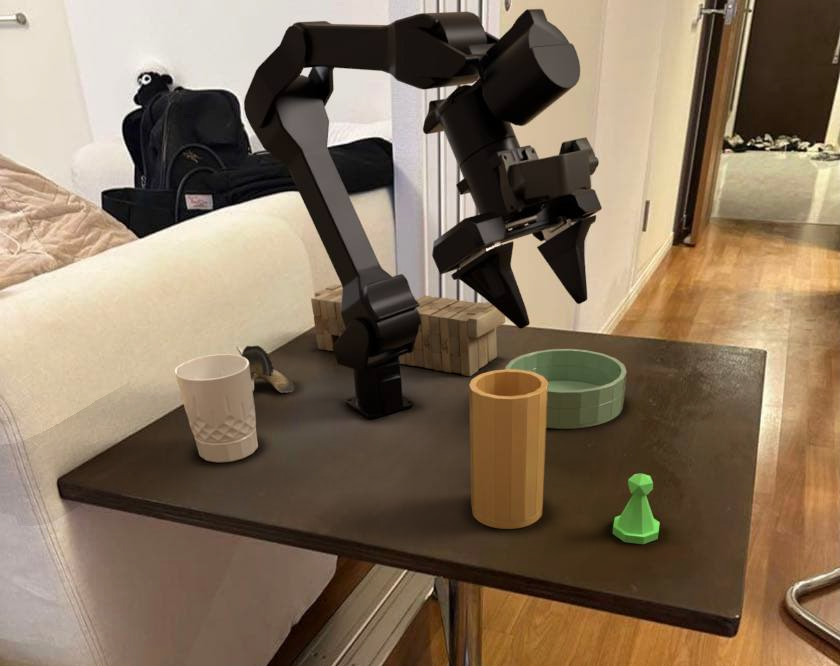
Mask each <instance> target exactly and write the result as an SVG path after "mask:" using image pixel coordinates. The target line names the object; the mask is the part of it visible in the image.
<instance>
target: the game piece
mask: <svg viewBox="0 0 840 666" xmlns="http://www.w3.org/2000/svg"><path fill="white" fill-rule="evenodd" d="M627 487H628V489H629V492H630V494H632V496H630V498H629V500H628V503H626V506H625V507H624V509H623V510H622V512H621V514H620V515H617V516H614V521H613V525H612V535H613V536H615V537H616V538H618V539H620V540H621V541H622V542H624V543H629V544H637V545H645V544H648V543H651V542H653V541H657V540H658V539H659V533H660V532H659V531H660V521H658V520H657V519H656V518H654V516H653V512H652V509H651V506H650V502H649V500H648V497H647V496H648V495H649V494H650V493H651V492H652V491H653V490H654V482H653V480H652V476H651V475H648V474H645V473H634V474H633V475H632V476H630V477H629V478H628V480H627Z"/></svg>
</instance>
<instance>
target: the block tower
mask: <svg viewBox="0 0 840 666" xmlns="http://www.w3.org/2000/svg"><path fill="white" fill-rule="evenodd" d="M342 290H343V287H342V284H337V283H336V284H332V285H329V286H327V287H325V288H324V289H320V290H318V291H316V292H314V296H313V297H311V299H310V302H311V308H312V314H313V322H314V329H315V332H316V333H315V338H316V343H317V349H318V350H323V351H329V352H330V351H331V352H333V345H334V344H335V342H336V341H337V340H338V338H339V337H340V336H341V334H342V333H343V331H344V330H345V329H346V327H345V324H344V322H343V319H342V316H341V303H342ZM415 300H416V301H417V302H418V303H419V305H420V306H419V307H416V308H417V310H418V312H419V315H420V320H421V324H420V325H419V331H418V334H417V337H416V340H415V344H414V349H413V352H411V353H407V354H404V355H402V356H399V361H400V365H401V364H402V365H407V366H411V367H415V366H416V367H419V368H424V369H429V370H434V371H439V372H445V373H449V374H451V373H455V374H461V375H462V376H466V377H471V376H473V375H474V374H476V373H477V372H479V369H481V368H483V367H485V366H486V365H488V363H490V362H491V361H493V360H494V359H496V358H497V357H498V347H497V343H498V342H497V328H499V327H500V326H502V325H504V324H505V323H506V316H505V315H503V314H502V313H501V312H500V311H499V310H498V309H497V308H495V307H494V306H493V305H492V304H491V303H490V302H488V301H486V302H474V301H467V300H458V299H455V298H448V297H440V296H439V297H437V296H431V295H423V296H421V297H419V298H416V299H415Z"/></svg>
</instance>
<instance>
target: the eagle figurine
mask: <svg viewBox="0 0 840 666" xmlns="http://www.w3.org/2000/svg"><path fill="white" fill-rule="evenodd" d="M236 349H237V351H238V353H239V354H240V356H242V357H245V358H246V359H247V360H248V361H249V366H250V374H251V382H252V390H253V392H254V391H255V380H258V379H262V380H264V381H266V382H267V383H269V384H270V385H272V387H274V389H275V390H277V391H278V392H279V393H280V394H282V393H283V394H288V393H292V392H294V391H295V386H294V383H293V382H292V381H291V380H290V379H289V378H288V377H287V376H285V375H284V374H283V373H281V372H279V371H277V370H276V369H275V367H274V365H273V361H272V360H271V357H270V356H269V353H267V352H266V350H265V349H264V348H263V347H261V346H260V345H247V346H245V348H244V349H242V348H240V347H239V346H236Z"/></svg>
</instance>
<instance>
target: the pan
mask: <svg viewBox="0 0 840 666" xmlns="http://www.w3.org/2000/svg"><path fill="white" fill-rule="evenodd" d="M504 369H514V370H525V371H530V372H535V373H537V374H539V375H541V376H543V377H544V378H545V379H546V380H547V381H548V403H547V427H546V429H548V428H549V429H560V430H569V429H570V430H571V429H573V430H574V429H584V428H590V427H594V426H599V425H602V424H606V423H608V422H610V421H612V420H614V419H615V418H617V417H618V416H619V415H620V414H621V412H622V411H623V407H624V403H625V395H626V394H625V393H626V384H627V375H628V374H627V373H628V371H627V368H626V366H625V364H624V363H622V362H621V361H620V360H618V359H617V358H616V357H613V356H610V355H608V354H605V353H602V352H596V351H591V350H588V349H577V348H576V349H575V348H554V349H553V348H551V349H544V350H537V351H532V352H529V353H526V354H525V353H524V354H522V355H519V356H517V357H515V358H514V359H511V360H510V361H509V362H508V363H507V365H506V366H505V368H504Z"/></svg>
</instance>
